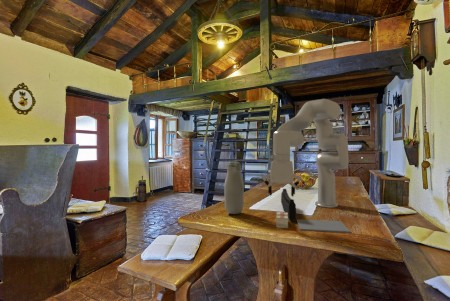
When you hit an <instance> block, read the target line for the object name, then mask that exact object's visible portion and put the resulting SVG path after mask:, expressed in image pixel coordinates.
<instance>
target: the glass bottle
mask: <svg viewBox="0 0 450 301" xmlns="http://www.w3.org/2000/svg"><path fill="white" fill-rule="evenodd" d="M243 178H244V177H243V174H242V164H241V162H239V161H234V160H232V161H229V162H228V163H227V171H226V177H225V180H224V186H223V187H224V188H223V189H224V191H223V192H224V208H225V210H226V212H227V213H228V214H230V215H238V214H240V213H242V212H243V209H244V205H245V202H244V201H245V199H244V197H245V196H244V194H245V182H244V179H243Z"/></svg>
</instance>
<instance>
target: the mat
mask: <svg viewBox="0 0 450 301" xmlns="http://www.w3.org/2000/svg"><path fill="white" fill-rule="evenodd" d="M296 219H297V218H296ZM295 221H296V223H297V226H298V229H299V230H300V231H305V232H306V231H309V232H326V233H327V232H329V233H345V234H346V233H347V234H348V233H349V234H351V230H350V229H349V228H348V227H347V226H346V225H345V224H344V222H342V221H341V220H322V219H321V220H320V219H297V220H295Z"/></svg>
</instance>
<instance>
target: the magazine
mask: <svg viewBox="0 0 450 301" xmlns="http://www.w3.org/2000/svg"><path fill="white" fill-rule="evenodd" d="M280 198H281V199H280V202H281V206H282V209H283V212H285V213H288V221H296V220H297V206H296V203H295V200H294V199H292V198H291V196H290V195H289V194H288V191H287V188H283V189H282V192H281V196H280Z"/></svg>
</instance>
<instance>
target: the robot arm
mask: <svg viewBox="0 0 450 301" xmlns="http://www.w3.org/2000/svg"><path fill="white" fill-rule="evenodd" d="M341 110H342V109H341V106H340V105H339V103H337V102H336V101H333V100H331V99H327V98H321V99H315V100H314V99H313V100H309V101H307V102H305V103H304V104H303V105H302V107H301V108H300V109H299V110H298V112H297V114H296V115H295V116H294V117H292V118H291V119H289V120H287V121H285V122H284V123H282V124H281V125H280V126H279V127H278V128H277V130H276V131H274V132H273V135H272V139H273V140H272V142H273V144H272V147H273V148H272V151H273V152H272V155H269V159H272V160H271V162H270V169H269V170H270V171H269V173H267V174H265V175H264V176H262V180H263V182H264V184H265V185H266V186H267V187H268V190H267V191H268V194H269V196H272V192H273V191H272V188H273V187H272V185H273V184H288V185H289V184H290V185H291V188H290V189H291V190H290V195H291V197H294V196H295V194H296V187H297V186H298V185H299V184H300V182H301V181H302V177H301V176H300V175H299V176H298V175H297V174H295V173H294V167H293V161H292V160H291V148H297V147H298V148H299V147H300V146H302V145H303V144H304V141H305V137H304V134H303V133H302V131H303V130H306V129H307V128H309V127H310V126H311V125H312V123H313V122H314V124H315V127H316V133H317V135H316V136H317V145H318V146H317V147H318V148H319V149H320V150H323V151H325V152H320V153H318V154H317V155H316V157H315V162H316V168H317V201H315V205H316V206H317V207H321V208H326V209H327V208H329V209H330V208H331V209H333V208H334V209H335V208H338V207H339V203H337V202H336V174H335V173H334V171H333V170H345V169H347V168H348V167H349V164H350V163H349V160H350V159H349V143H348V138H347V136H346V135H345V134H344V133H334V129H333V128H334V127H333V124H332V122H331V121H330V120H334V119H337V118H339V117H340V115H341ZM326 151H329V152H326ZM330 151H331V152H330ZM332 151H337V152H332ZM332 169H333V170H332ZM268 178H270V179H269V181H268V180H267V179H268ZM294 178H295V179H296V181H295V182H294Z"/></svg>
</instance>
